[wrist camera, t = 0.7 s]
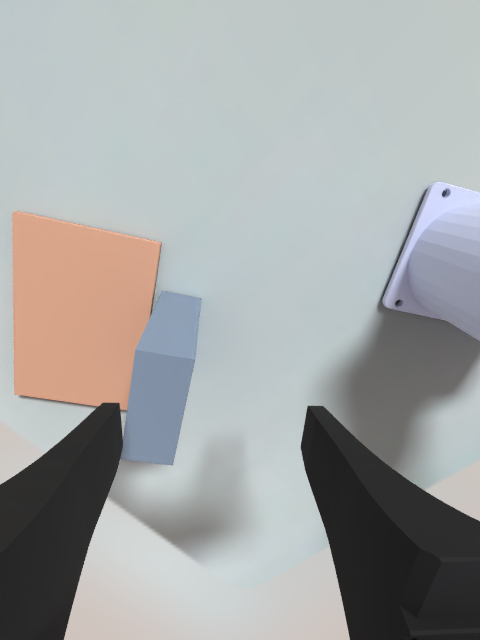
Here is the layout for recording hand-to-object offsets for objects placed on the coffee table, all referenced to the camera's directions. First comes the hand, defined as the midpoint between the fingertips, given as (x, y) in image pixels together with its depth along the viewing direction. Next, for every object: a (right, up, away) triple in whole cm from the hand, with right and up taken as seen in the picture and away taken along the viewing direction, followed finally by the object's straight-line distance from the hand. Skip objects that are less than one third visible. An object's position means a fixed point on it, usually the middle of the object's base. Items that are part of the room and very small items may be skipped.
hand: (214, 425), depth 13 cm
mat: (-9, +4, +9) cm, 13 cm away
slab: (-3, +3, +10) cm, 11 cm away
